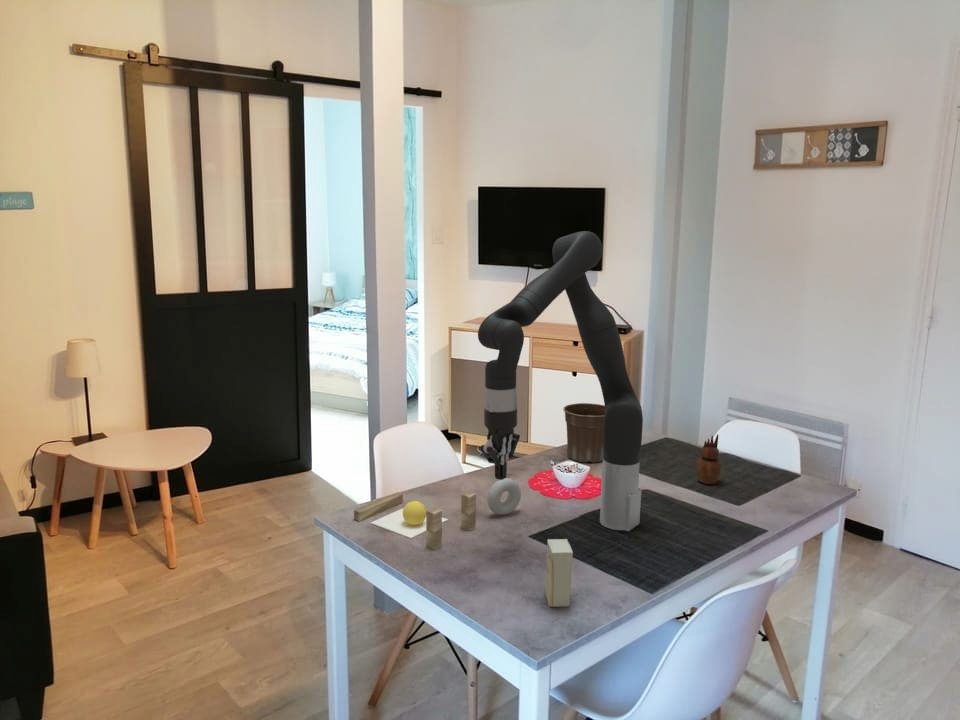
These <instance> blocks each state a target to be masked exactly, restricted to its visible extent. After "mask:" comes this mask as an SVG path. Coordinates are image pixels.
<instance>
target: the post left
mask: <svg viewBox="0 0 960 720" xmlns="http://www.w3.org/2000/svg"><path fill="white" fill-rule="evenodd" d="M442 517H443V510H442V509H438V508H436V507H432V508H429V509H428V510H427V509H426V531H425V533H426V534H425V535H426V540H425V542H426V543H425V544H426V545H425V546H426V548H429V549H431V550H436V549H438V548H440V547H442V546H443V544H442V543H443V534H442V533H443V526H442V525H443V523H442Z"/></svg>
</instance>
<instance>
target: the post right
mask: <svg viewBox="0 0 960 720" xmlns="http://www.w3.org/2000/svg"><path fill="white" fill-rule="evenodd" d="M460 496H461V500H460V503H461V505H460V506H461V507H460V508H461V509H460V512H461V513H460V518H461V519H460V528H461V530H465V531H468V532H470V531H472V530H474V529H476V527H477V526H476V525H477V521H476V520H477V515H476V514H477V494H476V493H474V492H470V491H466V492H464V493H462V494H460Z"/></svg>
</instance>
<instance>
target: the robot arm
mask: <svg viewBox="0 0 960 720" xmlns="http://www.w3.org/2000/svg"><path fill="white" fill-rule="evenodd" d="M602 255H603V245H602V242H601V239H600V238H599V236H598V235H597V234H596V233H594V232H591V231H589V230H587V231H586V230H583V231H576V232H573V233H570V234H568V235H564V236H561V237H559V238H557V239H556V240H555V241H554V243H553V245H552V260H553V263H554V265H552V266H551V267H550V268H548V269H546V271H544V272H543V273H541V274H540V275H538V276H537V277H536V278H533V280H531V281H530V282H529V283H527V284H526V285H525V286H524V287H523V288H522V289H521V290H520V291H519V292H518V293H517V294H516V295H515V296H514V297H513V298H512V299H511V301H509V302H508V303H506V304H504V305H503V306H501V307H499V308H497V309H496V310H495V311H493V312H492V313H490V314H489V315H487V316H486V317H485V318H484V320H482V322H481V324H480V325H479V327H478V331H477V339H478V341H479V342H478V343H480V344H481V345H482V346H483V347H484V348H486V349H490V350H495V351H498V355H497V358H496V359H491V360H489V361H488V362H487V363H486V364H485V369H484V384H485V385H484V386H485V387H484V394H483V411H484V412H483V417H484V418H483V419H484V421H483V422H484V423H483V424H484V427H485V428H486V429H487V431H488V432H487V435H486V439H487V441H486V443H485V444H481V445H480V451H481V452H482V453H483V456H484V457H485V458H486V459H485V460H487V462H488V463H489V464H494V477H495V479H496V480H503V479H505V478H507V474H508V472H507V470H508V467H507V465H508V462H509V460H510V459H512V458H513V457H514V454H515V451H516V449H517V446H518V443H519V441H520V437H521V436H520V434H517V433H515V429H514V428H516V427H517V426H518V391H517V367H518V364H519V361H520V358H521V353H522V349H523V346H524V342H525V341H524V340H525V335H524V330H523V327H529V326H530V325H532V324H533V323H535V321H536V320H537V319H538V318H539V317H540V316H541V315H542V313H544V311H545V310H546V309H547V308H548V307H549V306H550V305H551V304H552V303H553V302H554V301H555V299H556V298H558V296H560V295H561V294H562V293H563V292H564V291H565V292H566V296H567V298H568V302H569V304H570V307H571V309H572V313H573V316H574V319H575V322H576V325H577V328H578V334H579V336H580V340H581V343H582V346H583V349H584V352H585V354H586V357H587V359H588V362H589V363H590V365H591V367H592V369H593V371H594V373H595V375H596V377H597V379H598V382H599V385H600V389H601V393H602V398H603V403H604V404H603V405H605V419H604V442H603V461H602V467H601V490H600V492H601V493H600V510H599V512H600V513H599V523H600V524H601V525H602V526H603V527H604V528H607V529H610V530H614V531H626V532H631V530H633V529H635V527H637V526H638V525H640V521H641V519H640V518H641V503H642V502H641V501H642V489H641V488H639V483H640V482H639V481H640V466H641V465H640V464H641V451H642V440H643V427H644V426H643V425H644V422H643V421H644V416H643V409H642V406H641V403H640V401H639V399H638V397H637V395H636V393H635V390H634V387H633V386H632V385H633V384H632V383H631V381H630V377H629V374H628V370H627V366H626V365H627V364H626V360H625V354H624V349H623V345H622V339H621V336H620V333H619V329H618V326H617V322H616V320H615V317H614V315H613V313H612V312H611V311H610V309H608V307H607V306H606V304H604V303H603V301H602V300H601V299H600V298H599V297H598V296H597V295H596V293H595V291H594V290H593V289H592V287H591V284H590V282H589V280H588V277H587V274H586V273H587V272H588V271H590V270H591V269H592V268H594V267H595V266H597V264H598V263H599V262H600V260H601V258H602Z"/></svg>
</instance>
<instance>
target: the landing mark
mask: <svg viewBox="0 0 960 720" xmlns="http://www.w3.org/2000/svg"><path fill="white" fill-rule="evenodd" d="M403 509H404V507H403V508H401V509H398V510H396V511H393V512H391V513H389V514H387V515H385V516H382V517H380V518H378V519H376V520H373V521H371V522H370V525H374V526H377V527H380V528H382V529H385V530H387V531H390V532H392V533H394V534H398V535H400V536H403V537H405V538H409V539H413V538H415V537H417V536H419V535H421V534H423V533H426V518H425V520H424V521H423V522H422V523H421V524H419V525H410V524H408V523H407V522H406V521H405V520H404V518H403ZM447 521H449V519H448V518H446V517H443V516H442V524H443V523H445V522H447Z"/></svg>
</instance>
